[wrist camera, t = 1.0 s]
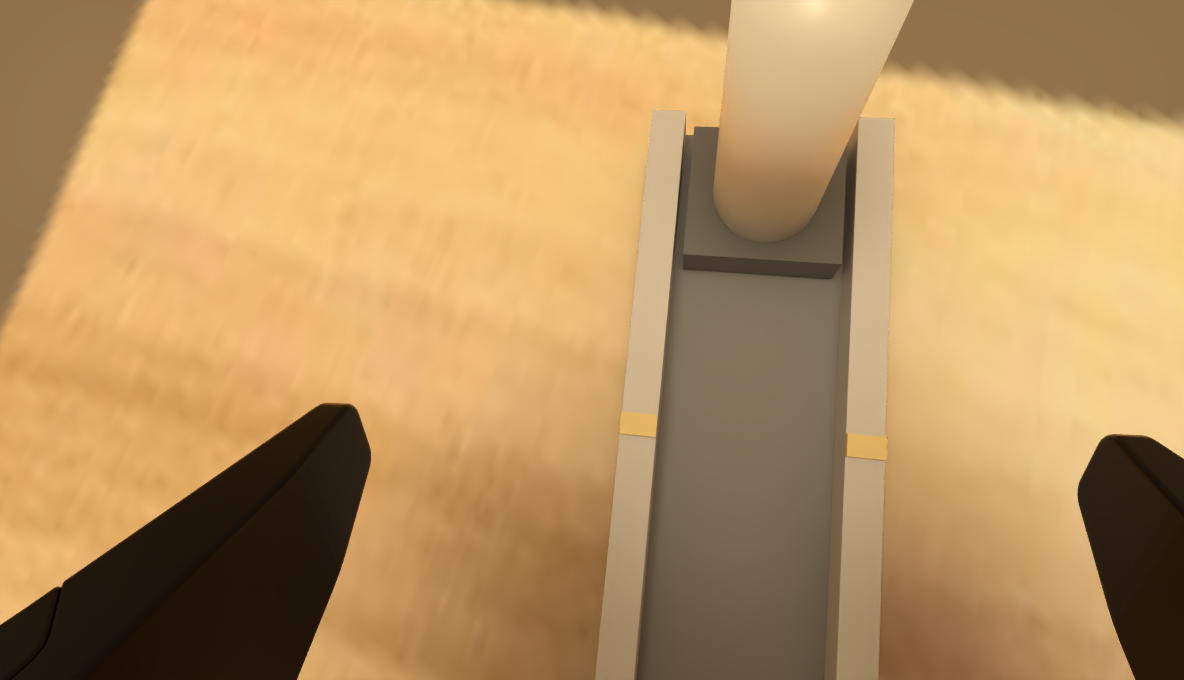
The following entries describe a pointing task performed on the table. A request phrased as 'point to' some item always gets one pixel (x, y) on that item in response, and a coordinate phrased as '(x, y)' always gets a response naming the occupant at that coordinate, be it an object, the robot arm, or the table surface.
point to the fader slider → (785, 135)
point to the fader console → (751, 447)
